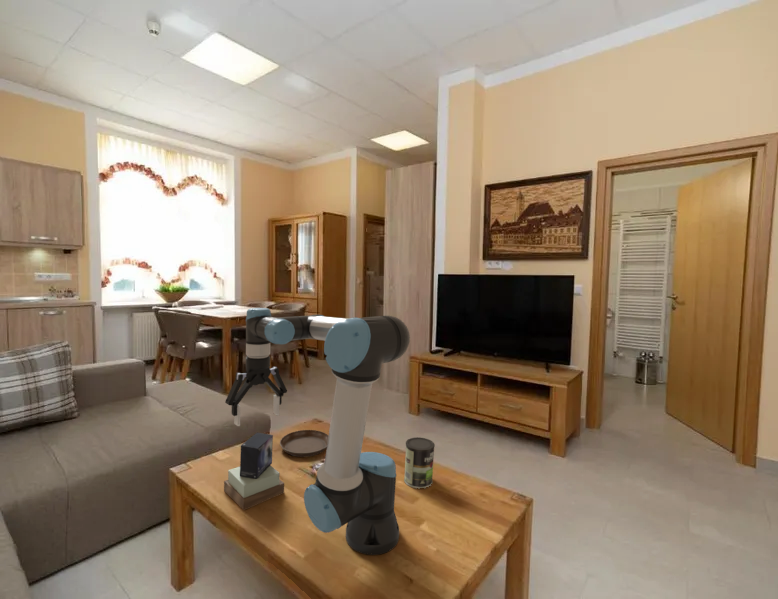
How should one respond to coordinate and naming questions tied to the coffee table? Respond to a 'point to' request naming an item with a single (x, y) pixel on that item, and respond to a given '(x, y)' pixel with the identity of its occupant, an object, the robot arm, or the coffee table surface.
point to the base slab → (254, 498)
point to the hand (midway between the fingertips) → (257, 419)
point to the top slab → (253, 481)
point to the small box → (256, 455)
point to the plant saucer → (304, 443)
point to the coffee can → (419, 462)
